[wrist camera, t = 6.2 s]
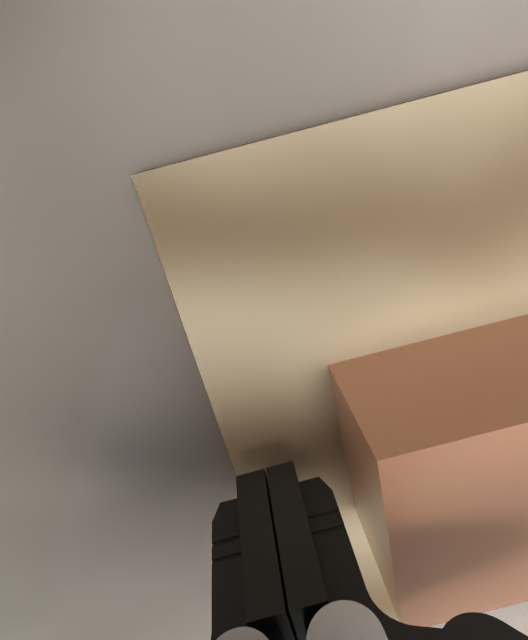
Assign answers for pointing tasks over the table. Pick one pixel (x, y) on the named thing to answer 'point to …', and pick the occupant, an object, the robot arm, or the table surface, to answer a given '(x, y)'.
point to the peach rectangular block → (442, 468)
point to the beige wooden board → (341, 263)
